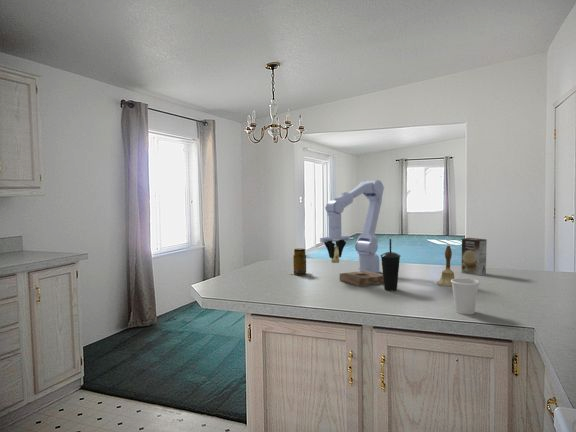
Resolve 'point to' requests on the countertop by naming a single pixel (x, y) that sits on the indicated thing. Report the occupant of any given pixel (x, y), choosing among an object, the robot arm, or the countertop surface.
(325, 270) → the countertop surface
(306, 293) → the countertop surface
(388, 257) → the drinking cup
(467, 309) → the dixie cup
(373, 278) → the socket block
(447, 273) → the hand bell
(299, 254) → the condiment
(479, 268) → the coffee box
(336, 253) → the pin
